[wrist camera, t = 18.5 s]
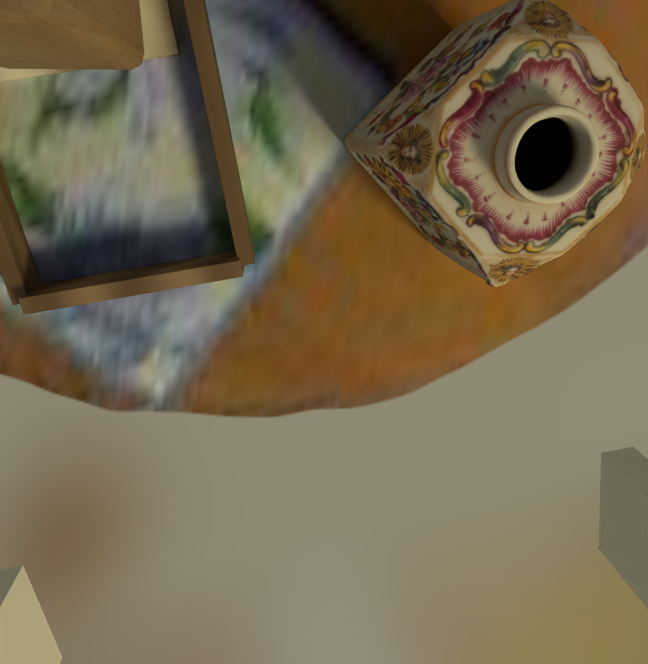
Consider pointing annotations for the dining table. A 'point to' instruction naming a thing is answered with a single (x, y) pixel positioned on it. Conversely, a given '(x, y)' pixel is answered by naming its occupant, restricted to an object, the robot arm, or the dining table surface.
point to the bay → (26, 289)
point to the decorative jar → (507, 139)
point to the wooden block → (71, 34)
